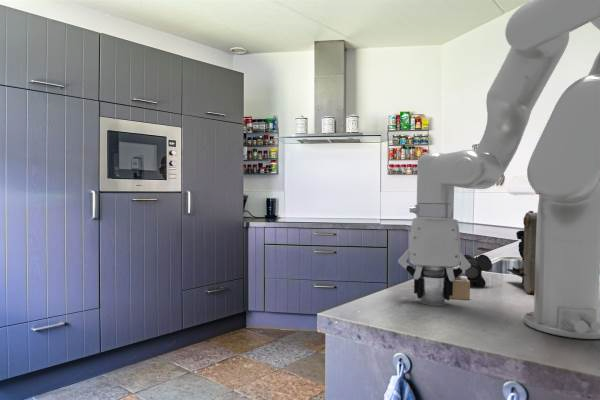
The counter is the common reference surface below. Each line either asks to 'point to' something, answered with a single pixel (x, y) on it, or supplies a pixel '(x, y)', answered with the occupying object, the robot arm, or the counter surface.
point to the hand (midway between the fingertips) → (432, 297)
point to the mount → (461, 287)
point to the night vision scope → (477, 269)
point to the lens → (433, 286)
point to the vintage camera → (527, 252)
